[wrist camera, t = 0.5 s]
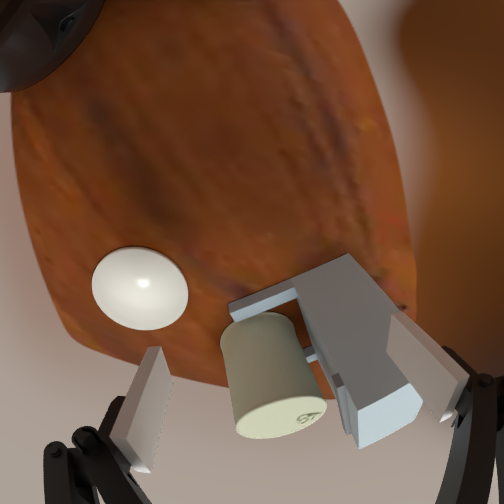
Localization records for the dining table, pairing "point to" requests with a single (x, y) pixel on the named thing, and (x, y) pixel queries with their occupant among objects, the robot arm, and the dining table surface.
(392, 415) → the pale blue footed box
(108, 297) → the coaster
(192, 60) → the dining table surface
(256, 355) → the can
